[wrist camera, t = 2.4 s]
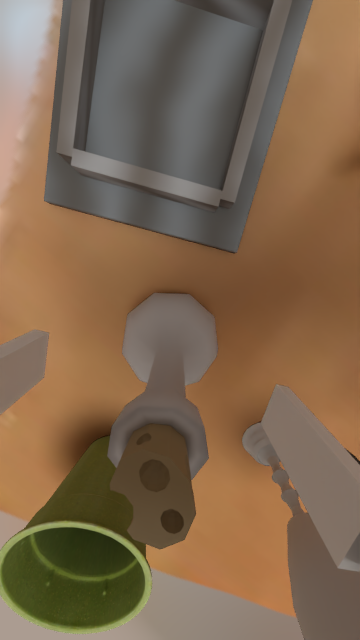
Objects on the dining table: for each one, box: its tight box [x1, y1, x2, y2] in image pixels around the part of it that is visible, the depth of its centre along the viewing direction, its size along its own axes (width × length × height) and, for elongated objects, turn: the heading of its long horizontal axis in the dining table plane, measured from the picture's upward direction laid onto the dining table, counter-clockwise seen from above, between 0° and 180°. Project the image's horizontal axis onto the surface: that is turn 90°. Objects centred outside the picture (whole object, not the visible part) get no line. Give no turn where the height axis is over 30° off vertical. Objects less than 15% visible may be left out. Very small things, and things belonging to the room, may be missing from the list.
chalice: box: [242, 422, 360, 640], centre depth 18 cm, size 7×7×18 cm
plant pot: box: [0, 436, 152, 634], centre depth 22 cm, size 12×12×11 cm
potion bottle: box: [107, 293, 218, 549], centre depth 15 cm, size 9×9×18 cm
